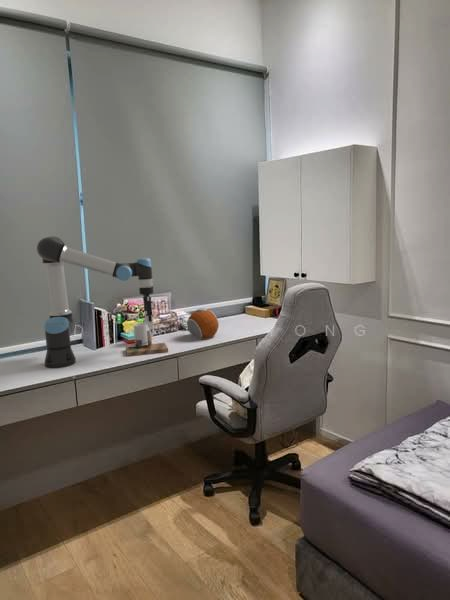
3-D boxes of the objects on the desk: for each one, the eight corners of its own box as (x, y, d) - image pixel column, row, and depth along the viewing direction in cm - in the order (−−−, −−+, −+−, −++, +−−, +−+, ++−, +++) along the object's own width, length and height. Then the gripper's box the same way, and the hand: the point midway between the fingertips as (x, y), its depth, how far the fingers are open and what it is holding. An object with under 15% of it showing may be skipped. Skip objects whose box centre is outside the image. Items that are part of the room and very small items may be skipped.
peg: (128, 349, 261) (127, 333, 259) (128, 347, 264) (126, 332, 262) (152, 346, 264) (151, 331, 262) (151, 345, 267) (150, 330, 265)
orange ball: (224, 336, 290) (223, 308, 287) (200, 342, 279) (199, 313, 277) (206, 331, 305) (205, 304, 302) (183, 336, 295) (181, 308, 292)
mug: (137, 345, 277) (136, 326, 275) (132, 342, 284) (131, 324, 282) (157, 342, 282) (156, 324, 280) (151, 339, 290) (150, 321, 288)
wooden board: (127, 356, 255) (127, 352, 255) (125, 350, 267) (125, 346, 267) (168, 351, 261) (167, 348, 260) (164, 346, 273) (164, 342, 273)
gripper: (155, 288, 248) (158, 328, 252) (150, 283, 272) (153, 319, 276) (141, 290, 247) (144, 330, 250) (137, 284, 270) (140, 320, 274)
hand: (149, 324), depth 263 cm, fingers open, 13 cm apart
